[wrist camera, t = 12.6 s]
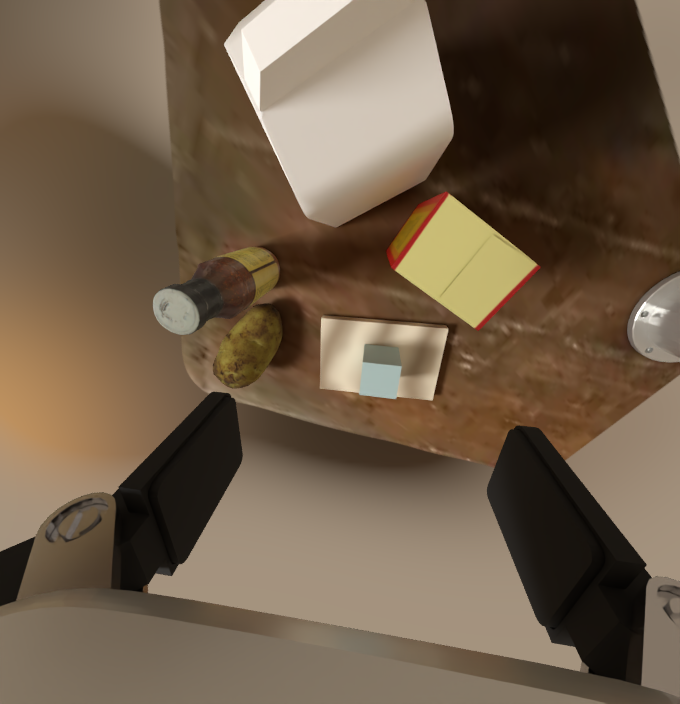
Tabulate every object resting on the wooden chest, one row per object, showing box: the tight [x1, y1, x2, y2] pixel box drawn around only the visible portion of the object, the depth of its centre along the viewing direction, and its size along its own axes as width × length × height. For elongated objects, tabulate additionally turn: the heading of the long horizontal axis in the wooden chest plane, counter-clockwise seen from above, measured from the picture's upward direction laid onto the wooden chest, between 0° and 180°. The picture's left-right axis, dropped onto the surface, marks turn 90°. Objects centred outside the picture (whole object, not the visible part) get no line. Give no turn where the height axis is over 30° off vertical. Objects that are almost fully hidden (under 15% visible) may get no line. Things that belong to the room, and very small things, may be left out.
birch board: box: [320, 315, 448, 400], centre depth 43 cm, size 18×12×2 cm, turn 87°
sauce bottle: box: [153, 247, 280, 335], centre depth 31 cm, size 6×6×20 cm
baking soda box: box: [386, 192, 541, 331], centre depth 29 cm, size 10×6×16 cm
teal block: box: [359, 344, 402, 399], centre depth 40 cm, size 5×5×6 cm
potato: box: [213, 304, 282, 388], centre depth 41 cm, size 8×13×8 cm, turn 130°
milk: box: [224, 0, 454, 227], centre depth 22 cm, size 12×12×26 cm
